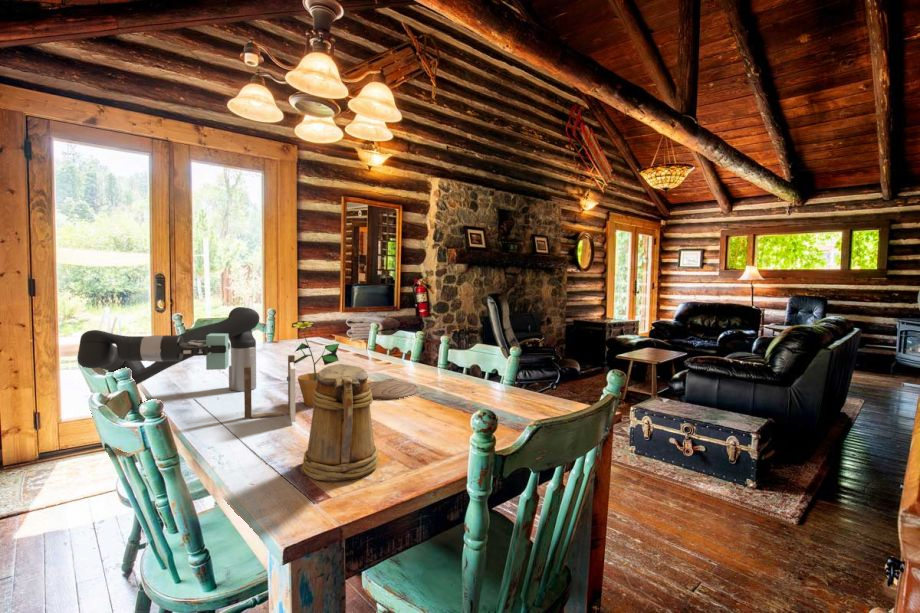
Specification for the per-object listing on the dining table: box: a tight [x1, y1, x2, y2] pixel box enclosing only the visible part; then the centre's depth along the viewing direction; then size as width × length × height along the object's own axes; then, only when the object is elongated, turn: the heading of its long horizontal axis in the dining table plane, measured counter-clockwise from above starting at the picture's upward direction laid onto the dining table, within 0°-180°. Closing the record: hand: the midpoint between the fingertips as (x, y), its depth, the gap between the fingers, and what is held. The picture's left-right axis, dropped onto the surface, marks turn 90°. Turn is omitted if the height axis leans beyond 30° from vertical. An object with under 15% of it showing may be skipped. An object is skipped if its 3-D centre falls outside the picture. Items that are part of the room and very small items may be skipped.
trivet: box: [367, 380, 419, 401], centre depth 186 cm, size 25×25×2 cm
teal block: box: [205, 334, 230, 371], centre depth 136 cm, size 5×5×10 cm
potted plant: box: [291, 320, 340, 407], centre depth 166 cm, size 18×19×30 cm
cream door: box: [286, 362, 296, 423], centre depth 147 cm, size 10×2×17 cm, turn 23°
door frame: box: [243, 354, 296, 420], centre depth 151 cm, size 15×3×20 cm, turn 113°
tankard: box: [302, 363, 380, 483], centre depth 111 cm, size 18×24×25 cm
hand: (227, 347), depth 136 cm, fingers closed on teal block, 5 cm apart
